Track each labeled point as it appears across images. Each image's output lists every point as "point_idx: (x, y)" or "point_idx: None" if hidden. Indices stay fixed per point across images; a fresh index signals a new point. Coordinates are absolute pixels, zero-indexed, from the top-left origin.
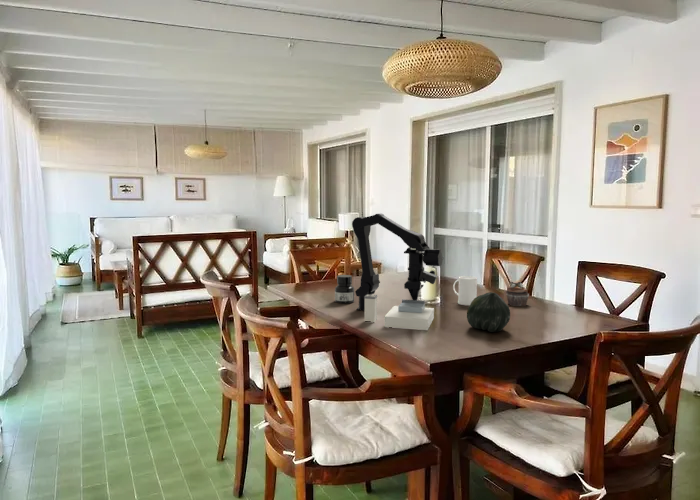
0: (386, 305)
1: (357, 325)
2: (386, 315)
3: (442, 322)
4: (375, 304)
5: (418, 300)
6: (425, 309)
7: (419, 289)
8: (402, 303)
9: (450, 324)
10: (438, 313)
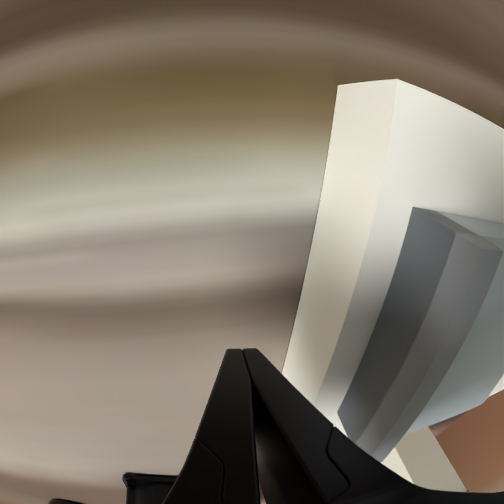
0: (33, 434)
1: (436, 428)
2: (502, 387)
3: (454, 45)
4: (441, 475)
5: (454, 336)
6: (456, 197)
7: (467, 497)
8: (419, 423)
9: (481, 13)
10: (108, 41)
